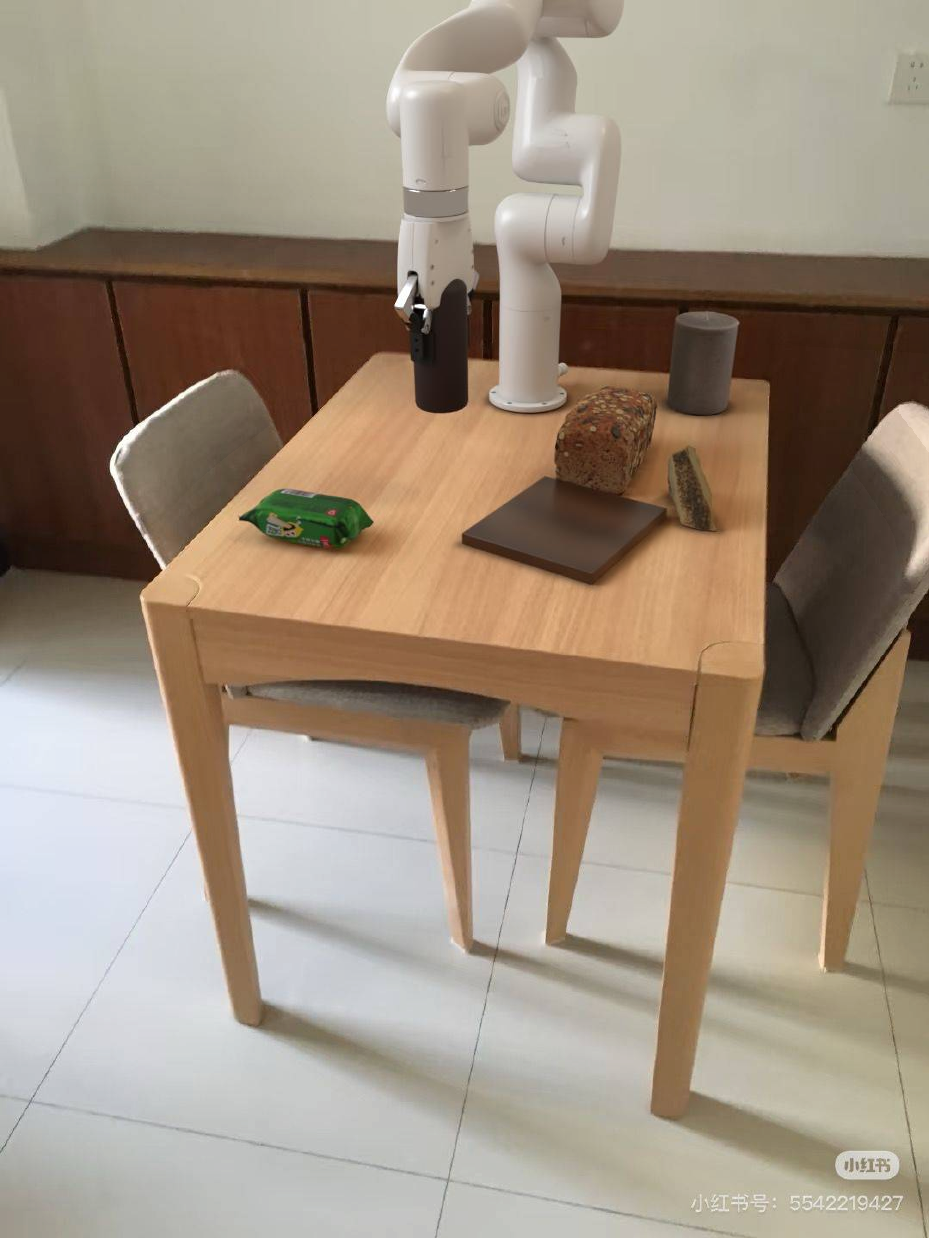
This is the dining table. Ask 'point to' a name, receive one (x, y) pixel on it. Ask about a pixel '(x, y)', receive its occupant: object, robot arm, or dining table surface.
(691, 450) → the rock
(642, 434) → the bread
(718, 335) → the pillar candle
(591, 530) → the serving board
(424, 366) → the vinegar
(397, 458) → the dining table surface
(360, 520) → the snack package
